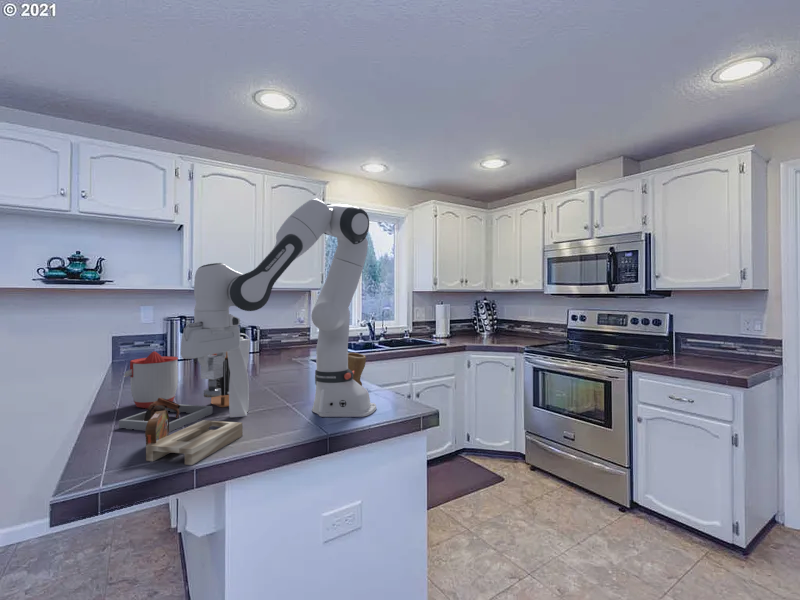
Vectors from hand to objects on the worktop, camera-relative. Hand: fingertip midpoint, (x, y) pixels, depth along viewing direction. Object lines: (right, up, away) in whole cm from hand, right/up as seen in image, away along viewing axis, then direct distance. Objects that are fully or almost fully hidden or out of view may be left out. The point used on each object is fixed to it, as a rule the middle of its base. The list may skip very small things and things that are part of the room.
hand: (212, 370), depth 110 cm
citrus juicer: (-40, -20, +37) cm, 58 cm away
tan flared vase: (+31, -19, +64) cm, 74 cm away
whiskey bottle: (-12, -20, +39) cm, 45 cm away
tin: (-12, -19, -6) cm, 23 cm away
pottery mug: (-25, -20, +17) cm, 37 cm away
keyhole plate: (-1, -20, -6) cm, 20 cm away
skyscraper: (-2, -20, +23) cm, 30 cm away
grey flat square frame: (-23, -20, +17) cm, 35 cm away
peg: (0, -7, 0) cm, 7 cm away
